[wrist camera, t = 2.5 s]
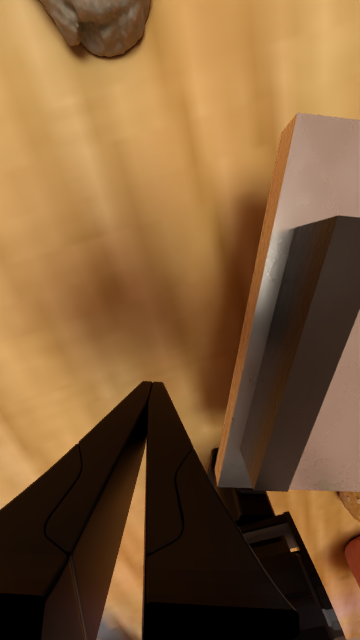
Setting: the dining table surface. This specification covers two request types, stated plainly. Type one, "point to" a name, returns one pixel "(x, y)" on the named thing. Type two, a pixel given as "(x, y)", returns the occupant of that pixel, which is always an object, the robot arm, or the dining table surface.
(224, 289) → the dining table surface
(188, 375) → the dining table surface
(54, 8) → the elongated rock
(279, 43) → the dining table surface
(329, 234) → the lid
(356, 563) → the decorative flower
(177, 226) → the dining table surface
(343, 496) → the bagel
